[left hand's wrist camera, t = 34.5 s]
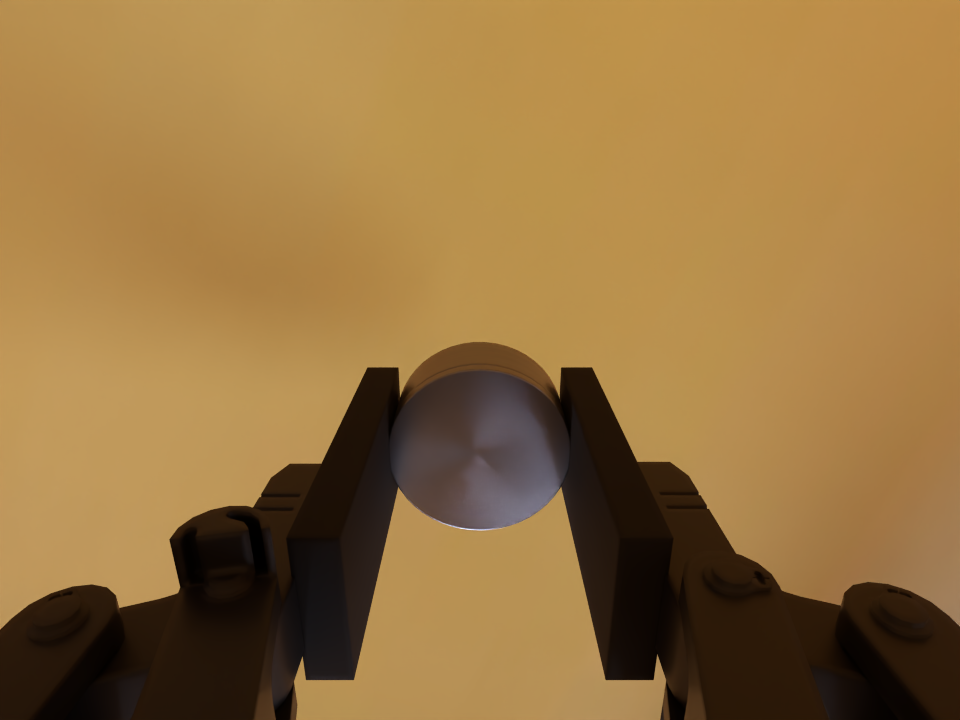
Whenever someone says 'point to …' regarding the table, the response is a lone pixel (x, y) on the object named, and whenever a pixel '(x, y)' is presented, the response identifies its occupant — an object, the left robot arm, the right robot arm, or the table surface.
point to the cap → (479, 437)
